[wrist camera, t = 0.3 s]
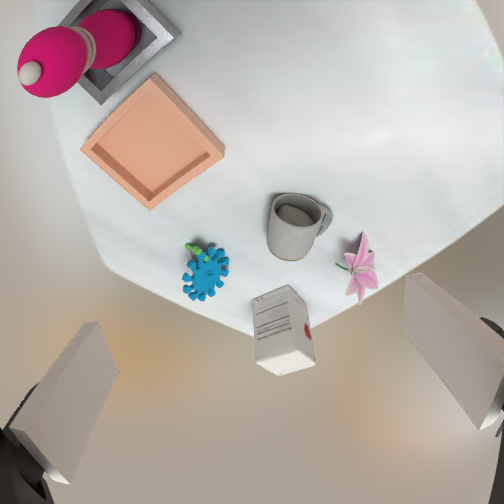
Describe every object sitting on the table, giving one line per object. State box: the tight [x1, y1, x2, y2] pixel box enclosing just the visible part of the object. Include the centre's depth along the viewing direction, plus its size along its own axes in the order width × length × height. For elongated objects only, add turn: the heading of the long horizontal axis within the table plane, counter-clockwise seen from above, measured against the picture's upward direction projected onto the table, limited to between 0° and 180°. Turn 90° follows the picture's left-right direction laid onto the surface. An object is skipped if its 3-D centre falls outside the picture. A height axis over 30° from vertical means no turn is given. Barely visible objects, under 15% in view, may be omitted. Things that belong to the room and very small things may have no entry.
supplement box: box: [252, 285, 316, 376], centre depth 62 cm, size 9×9×15 cm
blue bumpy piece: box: [182, 244, 229, 301], centre depth 55 cm, size 11×6×10 cm
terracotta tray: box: [80, 73, 225, 211], centre depth 38 cm, size 14×14×3 cm
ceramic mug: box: [267, 193, 333, 261], centre depth 47 cm, size 11×8×8 cm
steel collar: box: [58, 0, 181, 105], centre depth 26 cm, size 11×11×5 cm
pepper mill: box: [17, 9, 141, 98], centre depth 21 cm, size 7×7×20 cm
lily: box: [335, 232, 378, 305], centre depth 55 cm, size 12×12×10 cm
